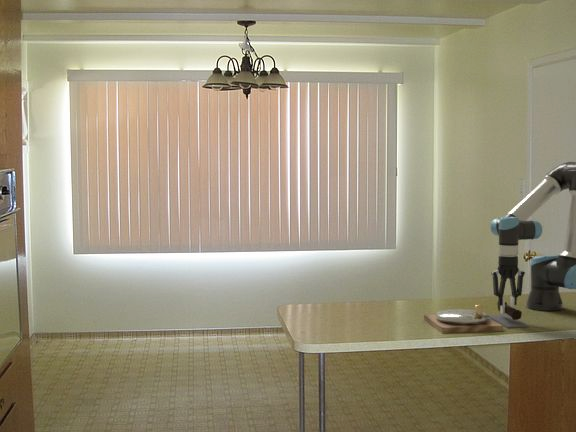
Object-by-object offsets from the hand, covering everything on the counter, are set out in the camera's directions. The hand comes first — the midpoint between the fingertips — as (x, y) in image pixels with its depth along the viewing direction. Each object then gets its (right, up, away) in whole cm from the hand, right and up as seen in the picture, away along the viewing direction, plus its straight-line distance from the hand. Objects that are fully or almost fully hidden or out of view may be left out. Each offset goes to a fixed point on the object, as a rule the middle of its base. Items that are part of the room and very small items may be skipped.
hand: (507, 313), depth 305 cm
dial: (-19, -2, -5) cm, 20 cm away
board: (-19, -4, -5) cm, 20 cm away
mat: (0, -3, 0) cm, 3 cm away
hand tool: (-1, -1, 0) cm, 1 cm away
